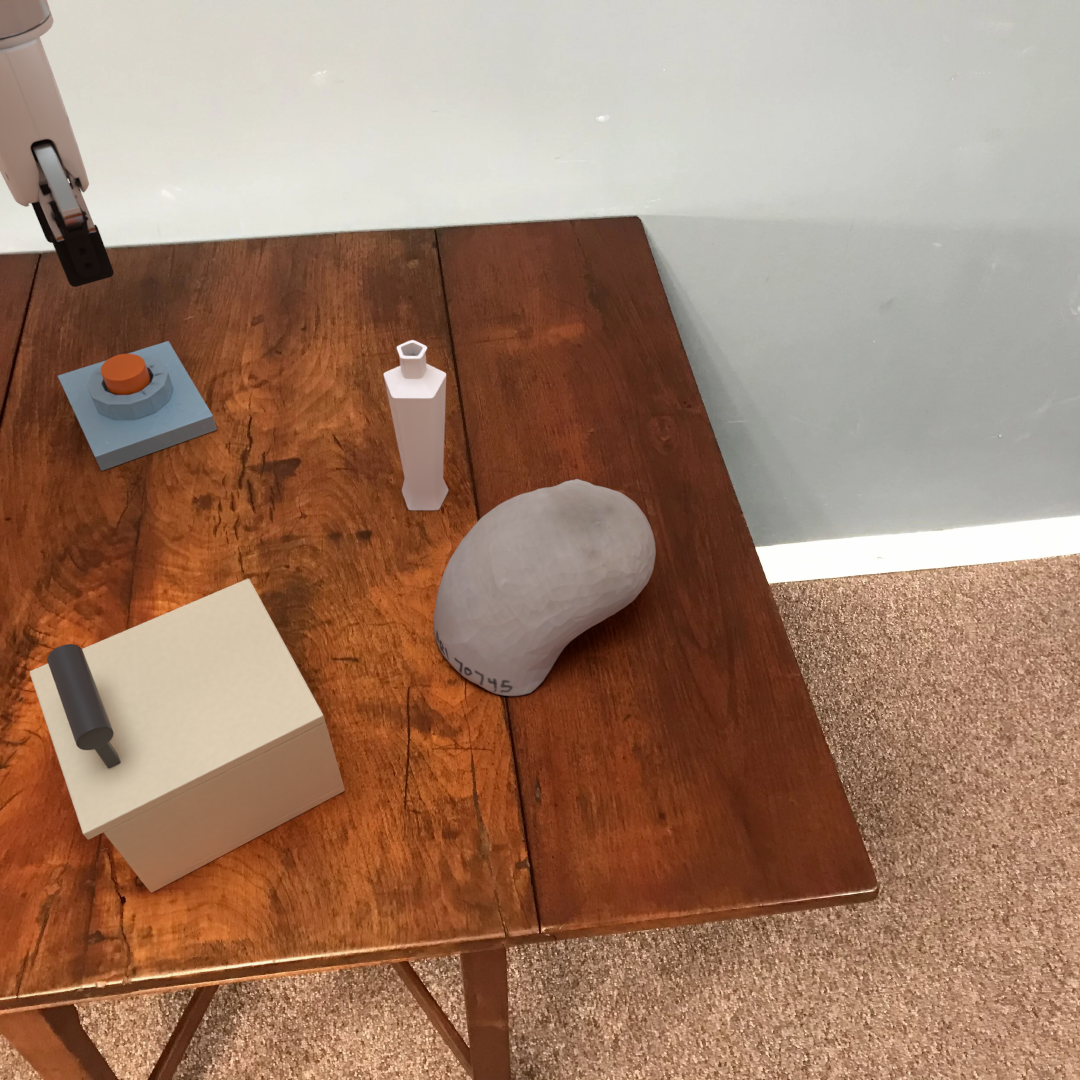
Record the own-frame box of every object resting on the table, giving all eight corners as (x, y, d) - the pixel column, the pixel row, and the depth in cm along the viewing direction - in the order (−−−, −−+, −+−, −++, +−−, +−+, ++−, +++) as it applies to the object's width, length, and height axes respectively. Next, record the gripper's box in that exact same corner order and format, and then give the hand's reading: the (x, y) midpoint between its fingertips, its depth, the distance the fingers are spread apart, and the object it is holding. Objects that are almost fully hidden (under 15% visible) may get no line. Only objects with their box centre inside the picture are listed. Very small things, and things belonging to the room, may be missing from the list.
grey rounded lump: (630, 665, 76) (668, 484, 72) (622, 736, 62) (667, 518, 59) (448, 627, 77) (477, 448, 74) (401, 688, 64) (433, 472, 60)
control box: (101, 471, 78) (87, 440, 76) (64, 390, 85) (49, 359, 82) (217, 430, 82) (207, 399, 79) (173, 355, 89) (163, 324, 86)
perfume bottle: (453, 474, 79) (445, 329, 68) (451, 513, 77) (443, 367, 65) (398, 474, 79) (381, 328, 68) (395, 513, 76) (376, 367, 65)
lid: (87, 840, 49) (52, 798, 45) (33, 678, 55) (-2, 629, 51) (325, 722, 54) (312, 675, 50) (251, 585, 60) (234, 534, 56)
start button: (113, 401, 79) (107, 385, 78) (101, 377, 81) (95, 361, 80) (156, 387, 81) (150, 371, 79) (143, 364, 83) (137, 348, 81)
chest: (151, 893, 56) (103, 833, 49) (96, 744, 62) (47, 672, 56) (345, 790, 61) (325, 722, 54) (276, 661, 67) (251, 585, 60)
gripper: (-109, -33, 61) (3, 218, 75) (-59, 68, 52) (58, 333, 66) (12, -51, 64) (98, 194, 78) (80, 41, 55) (164, 301, 69)
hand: (79, 255), depth 72 cm, fingers open, 5 cm apart
